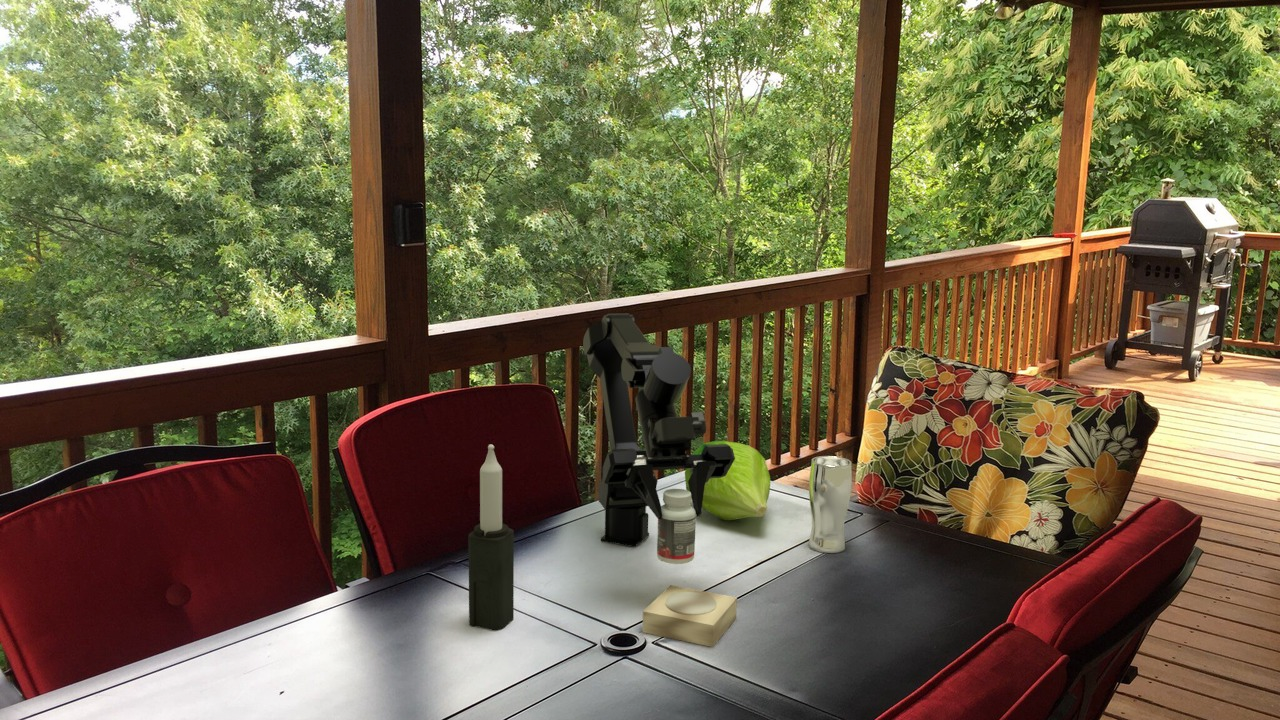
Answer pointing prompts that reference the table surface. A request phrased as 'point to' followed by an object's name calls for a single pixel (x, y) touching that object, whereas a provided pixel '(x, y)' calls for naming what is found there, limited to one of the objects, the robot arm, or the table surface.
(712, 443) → the lettuce
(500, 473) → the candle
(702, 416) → the robot arm
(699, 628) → the pedestal
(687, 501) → the pill bottle
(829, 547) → the beer glass
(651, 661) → the table surface
